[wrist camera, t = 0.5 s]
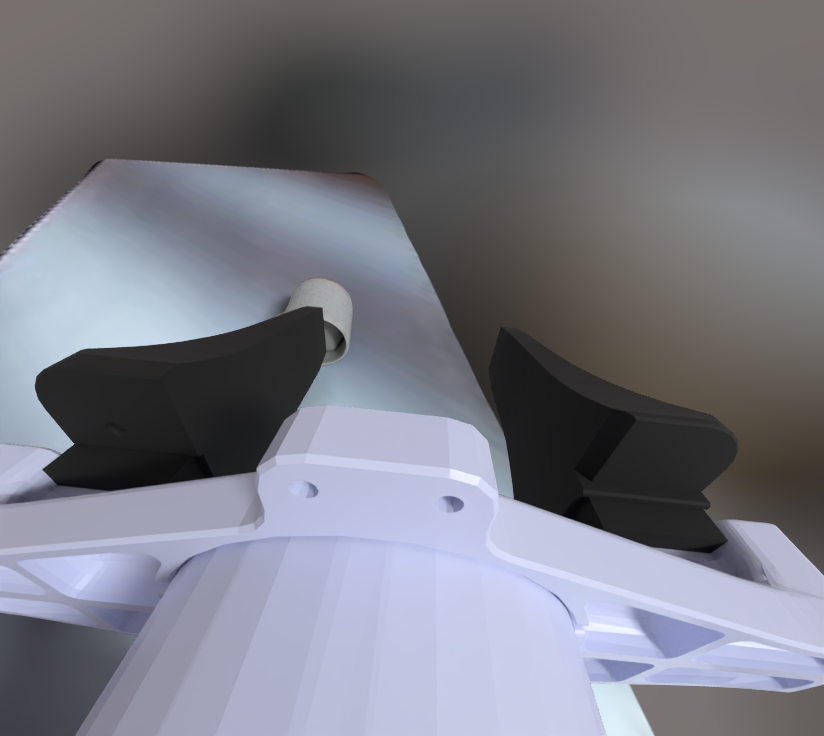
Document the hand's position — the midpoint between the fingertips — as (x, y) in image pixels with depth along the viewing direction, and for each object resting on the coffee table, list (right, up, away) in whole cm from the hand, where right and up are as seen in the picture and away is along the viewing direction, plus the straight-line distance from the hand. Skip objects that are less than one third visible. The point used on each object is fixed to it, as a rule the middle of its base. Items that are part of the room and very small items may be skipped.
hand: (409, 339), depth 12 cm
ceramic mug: (-12, +2, +23) cm, 26 cm away
